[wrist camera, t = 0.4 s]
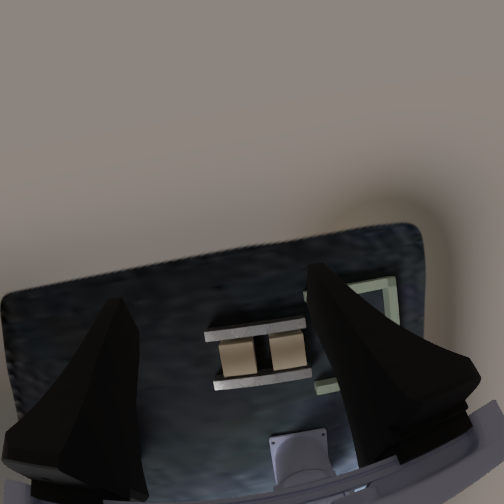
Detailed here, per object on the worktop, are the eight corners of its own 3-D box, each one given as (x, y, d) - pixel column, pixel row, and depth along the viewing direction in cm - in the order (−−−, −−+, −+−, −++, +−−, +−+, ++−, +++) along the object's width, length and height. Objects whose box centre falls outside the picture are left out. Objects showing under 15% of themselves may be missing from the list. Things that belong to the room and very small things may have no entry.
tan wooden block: (303, 358, 39) (306, 365, 36) (272, 363, 39) (273, 370, 36) (299, 328, 39) (303, 333, 36) (268, 333, 39) (269, 339, 36)
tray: (396, 370, 38) (402, 374, 36) (314, 389, 39) (317, 395, 37) (389, 275, 39) (395, 276, 37) (302, 291, 39) (305, 292, 37)
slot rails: (308, 370, 39) (312, 377, 36) (217, 383, 39) (214, 390, 36) (302, 314, 39) (304, 318, 37) (207, 328, 39) (203, 332, 37)
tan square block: (257, 365, 39) (257, 373, 36) (226, 368, 39) (224, 376, 36) (252, 335, 39) (252, 341, 36) (221, 339, 39) (218, 345, 36)
